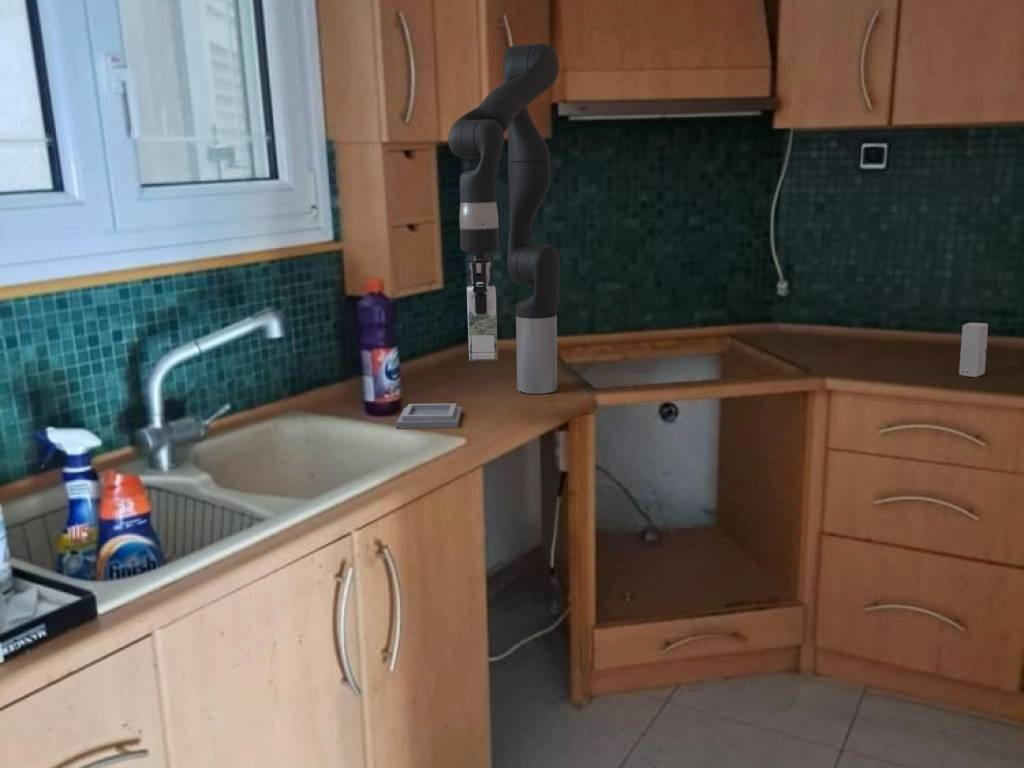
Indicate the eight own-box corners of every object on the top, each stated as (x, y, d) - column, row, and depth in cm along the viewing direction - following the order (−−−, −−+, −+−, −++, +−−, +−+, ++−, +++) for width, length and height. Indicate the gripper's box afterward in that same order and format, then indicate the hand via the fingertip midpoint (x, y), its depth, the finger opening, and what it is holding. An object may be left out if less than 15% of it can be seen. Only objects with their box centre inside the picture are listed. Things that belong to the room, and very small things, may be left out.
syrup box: (497, 355, 191) (495, 284, 188) (497, 360, 186) (495, 288, 182) (469, 355, 191) (466, 285, 188) (469, 361, 185) (466, 289, 182)
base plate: (404, 413, 196) (404, 402, 196) (461, 412, 196) (461, 402, 195) (396, 428, 184) (396, 417, 184) (457, 427, 184) (456, 416, 184)
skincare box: (977, 377, 220) (982, 326, 217) (957, 375, 223) (961, 324, 220) (985, 373, 224) (990, 323, 222) (965, 370, 227) (970, 321, 225)
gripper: (497, 228, 175) (499, 316, 179) (499, 223, 189) (501, 305, 193) (457, 228, 175) (460, 317, 179) (462, 224, 189) (465, 306, 193)
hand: (481, 311), depth 186 cm, fingers closed on syrup box, 6 cm apart
